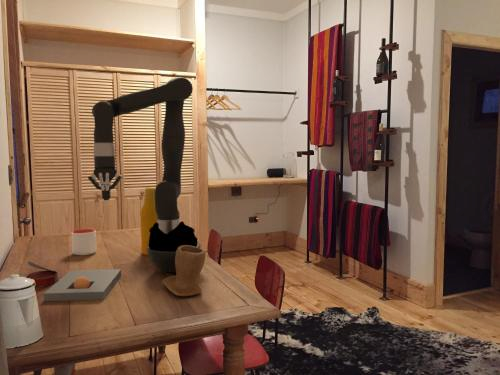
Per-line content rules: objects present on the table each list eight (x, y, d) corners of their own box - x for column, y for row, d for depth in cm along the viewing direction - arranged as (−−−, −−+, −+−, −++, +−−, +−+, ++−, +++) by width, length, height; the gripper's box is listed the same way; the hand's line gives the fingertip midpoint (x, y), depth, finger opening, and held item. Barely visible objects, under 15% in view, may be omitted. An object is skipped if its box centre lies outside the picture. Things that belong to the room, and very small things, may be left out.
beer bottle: (164, 254, 186) (162, 188, 183) (142, 256, 183) (140, 189, 180) (160, 249, 195) (159, 186, 192) (140, 251, 191) (138, 187, 188)
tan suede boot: (211, 295, 136) (210, 249, 134) (175, 301, 130) (174, 253, 129) (195, 281, 149) (194, 239, 147) (161, 286, 144) (160, 243, 142)
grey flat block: (121, 275, 156) (121, 269, 155) (103, 299, 132) (103, 291, 132) (71, 277, 154) (70, 270, 154) (44, 301, 131) (43, 293, 130)
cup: (100, 250, 193) (99, 229, 192) (90, 256, 183) (89, 233, 182) (79, 250, 194) (78, 228, 193) (68, 255, 184) (67, 233, 183)
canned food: (30, 294, 150) (28, 266, 153) (61, 287, 154) (58, 261, 157) (23, 289, 140) (21, 260, 143) (56, 282, 144) (53, 254, 147)
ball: (87, 278, 136) (87, 293, 136) (92, 274, 141) (92, 289, 141) (71, 278, 136) (71, 294, 136) (76, 275, 141) (76, 289, 141)
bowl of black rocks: (211, 268, 164) (210, 220, 163) (177, 283, 147) (176, 229, 145) (171, 261, 175) (170, 216, 173) (136, 274, 157) (134, 224, 156)
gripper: (124, 154, 165) (126, 198, 166) (89, 154, 164) (91, 199, 166) (119, 155, 157) (121, 201, 159) (83, 155, 156) (85, 201, 158)
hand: (106, 200), depth 162 cm, fingers closed
